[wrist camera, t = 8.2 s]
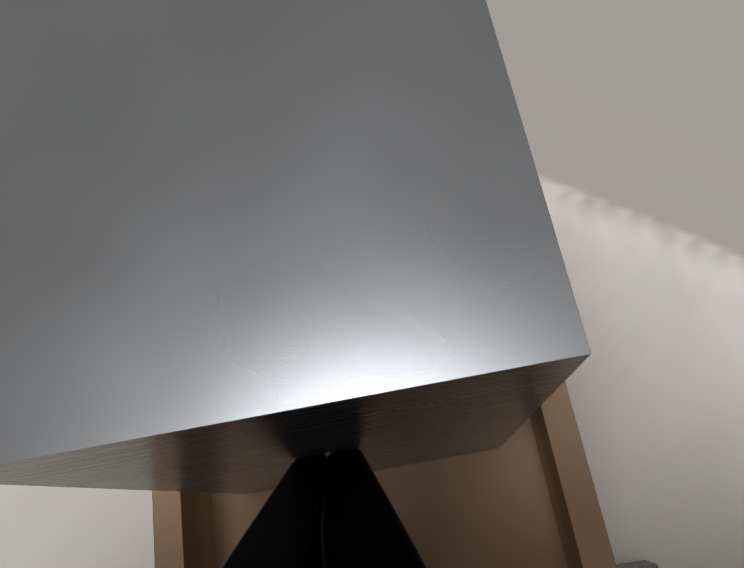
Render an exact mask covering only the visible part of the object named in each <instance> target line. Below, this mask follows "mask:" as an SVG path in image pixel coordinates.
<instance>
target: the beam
mask: <svg viewBox="0 0 744 568" xmlns="http://www.w3.org/2000/svg"><path fill="white" fill-rule="evenodd" d="M373 472H374V474H375V475H376V477H377V479H378V481H379V483H380V484H381V486H382V488H383V490H384V491H385V493H386V495H387V497H388V498H389V500H390V502H391V504H392V506H393V507H394V509H395V511H396V513H397V514H398V516H399V518H400V520H401V522H402V523H403V525H404V527H405V529H406V530H407V532H408V534H409V536H410V537H411V539H412V541H413V543H414V545H415V546H416V548H417V550H418V552H419V553H420V555H421V557H422V559H423V560H424V562H425V564H426V566H427V568H617V567H616V564H615V560H614V556H613V553H612V549H611V546H610V542H609V538H608V535H607V531H606V528H605V524H604V520H603V517H602V513H601V510H600V506H599V502H598V499H597V495H596V492H595V488H594V484H593V481H592V477H591V474H590V470H589V467H588V463H587V459H586V456H585V452H584V449H583V445H582V441H581V438H580V434H579V431H578V427H577V423H576V420H575V416H574V413H573V409H572V405H571V402H570V398H569V395H568V391H567V387H566V384H565V381H564V382H563V383H562V384H561V385H560V386H559V387H558V388H557V389H556V390H555V391H554V392H553V393H552V395H551V396H550V397H549V398H548V399H547V400H546V401H545V402H544V403H543V404H542V405H541V406H540V407H539V408H538V409H537V410H536V411H535V412H534V413H533V414H532V415H531V416H530V417H529V418H528V419H527V420H526V421H525V422H524V423H523V424H522V425H521V426H520V428H519V429H518V430H517V431H516V432H515V433H514V434H513V435H512V436H511V437H510V438H509V439H508V440H507V441H506V442H505V443H504V444H503V445H502V446H501V447H500V448H499V449H494V450H488V451H482V452H477V453H471V454H466V455H460V456H455V457H449V458H444V459H438V460H432V461H427V462H421V463H416V464H410V465H405V466H399V467H394V468H388V469H383V470H377V471H373ZM273 491H274V489H271V490H266V491H260V492H255V493H249V494H230V493H205V492H179V491H154V490H152V499H153V526H154V554H155V568H222V566H223V565H224V563H225V562H226V560H227V559H228V557H229V556H230V554H231V553H232V551H233V550H234V548H235V547H236V545H237V544H238V542H239V541H240V539H241V538H242V536H243V535H244V533H245V532H246V531H247V529H248V528H249V526H250V525H251V523H252V522H253V520H254V519H255V517H256V516H257V514H258V513H259V511H260V510H261V508H262V507H263V505H264V504H265V502H266V501H267V499H268V498H269V496H270V495H271V494H272V492H273Z"/></svg>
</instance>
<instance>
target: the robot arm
mask: <svg viewBox="0 0 744 568" xmlns="http://www.w3.org/2000/svg"><path fill="white" fill-rule="evenodd" d="M222 568H427V566H426V564H425V562H424V560H423V559H422V557H421V555H420V553H419V552H418V550H417V548H416V546H415V545H414V543H413V541H412V539H411V537H410V536H409V534H408V532H407V530H406V529H405V527H404V525H403V523H402V522H401V520H400V518H399V516H398V514H397V513H396V511H395V509H394V507H393V506H392V504H391V502H390V500H389V498H388V497H387V495H386V493H385V491H384V490H383V488H382V486H381V484H380V483H379V481H378V479H377V477H376V475H375V474H374V472H373V470H372V468H371V467H370V465H369V463H368V461H367V460H366V458H365V456H364V454H363V452H362V451H361V450H360V449H358V448H353V449H348V450H343V451H337V452H332V453H331V454H329V456H328V457H327V456H326V455H324V454H321V455H315V456H310V457H304V458H299V459H296V460H295V461H294V462H293V463H292V464H291V465H290V467H289V468H288V470H287V471H286V473H285V474H284V476H283V477H282V479H281V480H280V482H279V483H278V485H277V486H276V488H275V489H274V491H273V492H272V494H271V495H270V496H269V498H268V499H267V501H266V502H265V504H264V505H263V507H262V508H261V510H260V511H259V513H258V514H257V516H256V517H255V519H254V520H253V522H252V523H251V525H250V526H249V528H248V529H247V531H246V532H245V533H244V535H243V536H242V538H241V539H240V541H239V542H238V544H237V545H236V547H235V548H234V550H233V551H232V553H231V554H230V556H229V557H228V559H227V560H226V562H225V563H224V565H223V566H222Z"/></svg>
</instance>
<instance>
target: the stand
mask: <svg viewBox="0 0 744 568" xmlns="http://www.w3.org/2000/svg"><path fill="white" fill-rule="evenodd" d="M616 567H617V568H658V566H657V564H655V563H652V562H649V561H646V560H645V561H639V562H633V563H627V564H621V565H616Z"/></svg>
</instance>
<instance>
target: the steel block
mask: <svg viewBox="0 0 744 568" xmlns="http://www.w3.org/2000/svg"><path fill="white" fill-rule="evenodd" d="M590 354H591V352H590V348H589V345H588V342H587V338H586V335H585V332H584V328H583V325H582V322H581V318H580V315H579V312H578V308H577V305H576V301H575V298H574V295H573V291H572V288H571V285H570V281H569V278H568V275H567V271H566V268H565V265H564V261H563V258H562V255H561V251H560V248H559V245H558V241H557V238H556V235H555V231H554V228H553V224H552V221H551V218H550V214H549V211H548V208H547V204H546V201H545V198H544V194H543V191H542V188H541V184H540V181H539V178H538V174H537V171H536V168H535V164H534V161H533V157H532V154H531V151H530V148H529V144H528V141H527V137H526V134H525V131H524V127H523V124H522V121H521V117H520V114H519V111H518V107H517V104H516V101H515V97H514V94H513V90H512V87H511V84H510V80H509V77H508V74H507V70H506V67H505V64H504V61H503V57H502V54H501V50H500V47H499V44H498V40H497V37H496V34H495V30H494V27H493V23H492V20H491V17H490V14H489V10H488V7H487V3H486V0H0V484H2V485H27V486H53V487H78V488H103V489H129V490H154V491H179V492H205V493H230V494H249V493H255V492H260V491H266V490H271V489H275V488H276V486H277V485H278V483H279V482H280V480H281V479H282V477H283V476H284V474H285V473H286V471H287V470H288V468H289V467H290V465H291V464H292V463H293V462H294V461H295V460H296V459H299V458H304V457H310V456H315V455H321V454H324V455H326V456H327V457H328V456H329V454H331V453H332V452H337V451H343V450H348V449H353V448H358V449H360V450H361V451H362V452H363V454H364V456H365V458H366V460H367V461H368V463H369V465H370V467H371V468H372V470H373V471H377V470H383V469H388V468H394V467H399V466H405V465H410V464H416V463H421V462H427V461H432V460H438V459H444V458H449V457H455V456H460V455H466V454H471V453H477V452H482V451H488V450H494V449H499V448H500V447H501V446H502V445H503V444H504V443H505V442H506V441H507V440H508V439H509V438H510V437H511V436H512V435H513V434H514V433H515V432H516V431H517V430H518V429H519V428H520V426H521V425H522V424H523V423H524V422H525V421H526V420H527V419H528V418H529V417H530V416H531V415H532V414H533V413H534V412H535V411H536V410H537V409H538V408H539V407H540V406H541V405H542V404H543V403H544V402H545V401H546V400H547V399H548V398H549V397H550V396H551V395H552V393H553V392H554V391H555V390H556V389H557V388H558V387H559V386H560V385H561V384H562V383H563V382H564V381H565V380H566V379H567V378H568V377H569V376H570V375H571V374H572V373H573V372H574V371H575V370H576V369H577V368H578V367H579V366H580V365H581V364H582V363H583V362H584V360H585V359H586V358H587V357H588V356H589V355H590Z"/></svg>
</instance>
